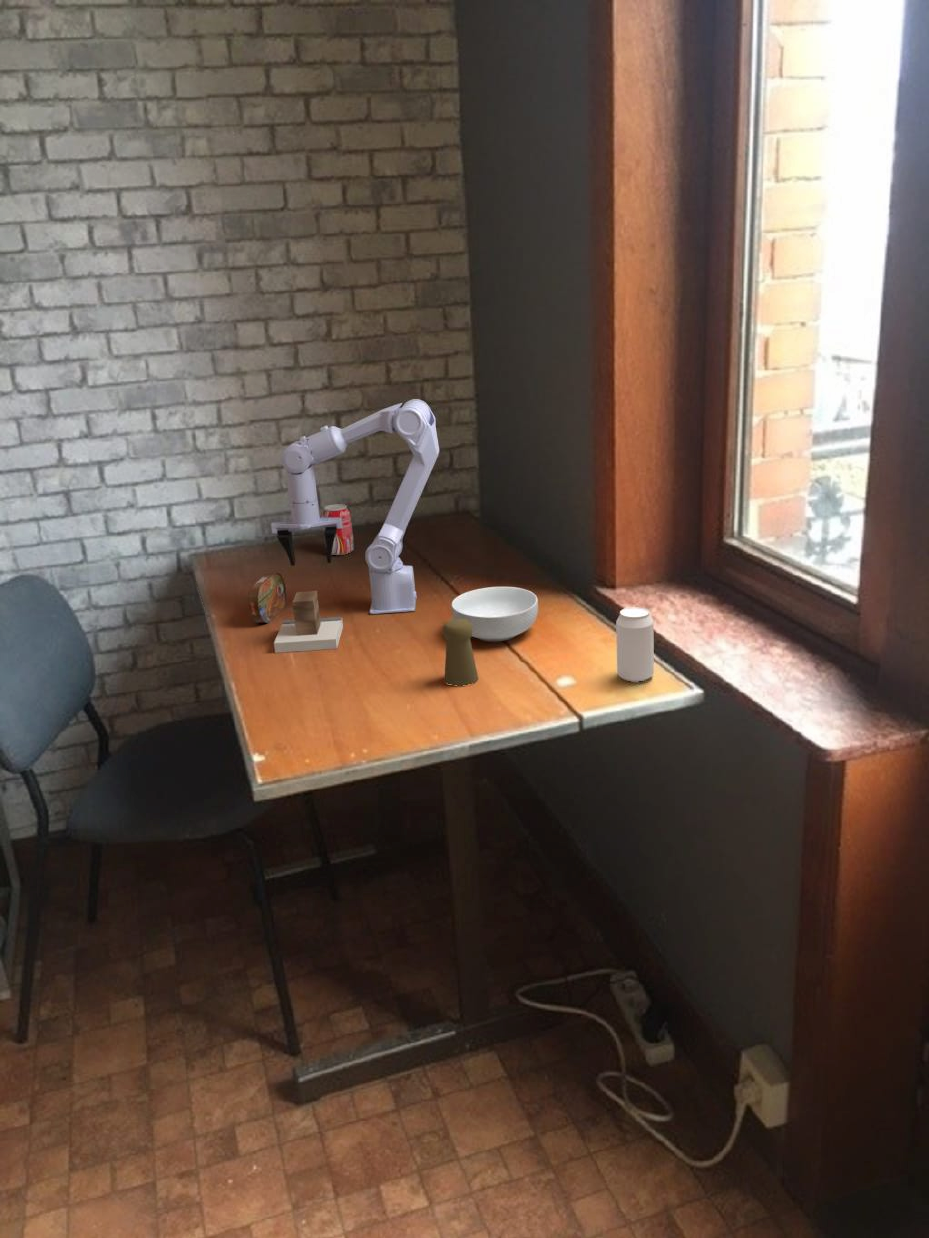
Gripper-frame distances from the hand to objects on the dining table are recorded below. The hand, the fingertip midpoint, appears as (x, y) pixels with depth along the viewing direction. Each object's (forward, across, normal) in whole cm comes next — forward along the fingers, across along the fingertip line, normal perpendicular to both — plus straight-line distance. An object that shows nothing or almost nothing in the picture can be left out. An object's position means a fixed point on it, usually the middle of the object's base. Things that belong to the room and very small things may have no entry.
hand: (311, 563), depth 222 cm
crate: (+8, 0, -18) cm, 20 cm away
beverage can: (+10, +60, -48) cm, 78 cm away
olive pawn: (+11, +30, -44) cm, 54 cm away
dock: (+10, 0, -18) cm, 21 cm away
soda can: (+11, +2, +42) cm, 43 cm away
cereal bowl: (+11, +37, -23) cm, 45 cm away
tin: (+11, -10, -2) cm, 15 cm away
